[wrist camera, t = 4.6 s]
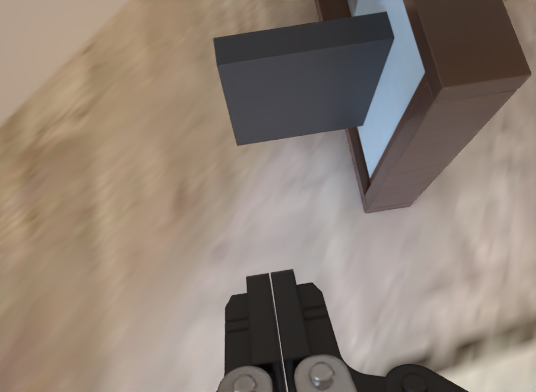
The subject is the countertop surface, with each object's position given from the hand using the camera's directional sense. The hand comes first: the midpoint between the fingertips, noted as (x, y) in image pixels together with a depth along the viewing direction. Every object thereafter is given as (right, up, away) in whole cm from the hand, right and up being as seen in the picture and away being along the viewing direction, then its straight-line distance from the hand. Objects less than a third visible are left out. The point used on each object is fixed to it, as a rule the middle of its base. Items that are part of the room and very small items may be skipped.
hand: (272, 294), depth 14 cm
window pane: (+2, +7, +17) cm, 19 cm away
